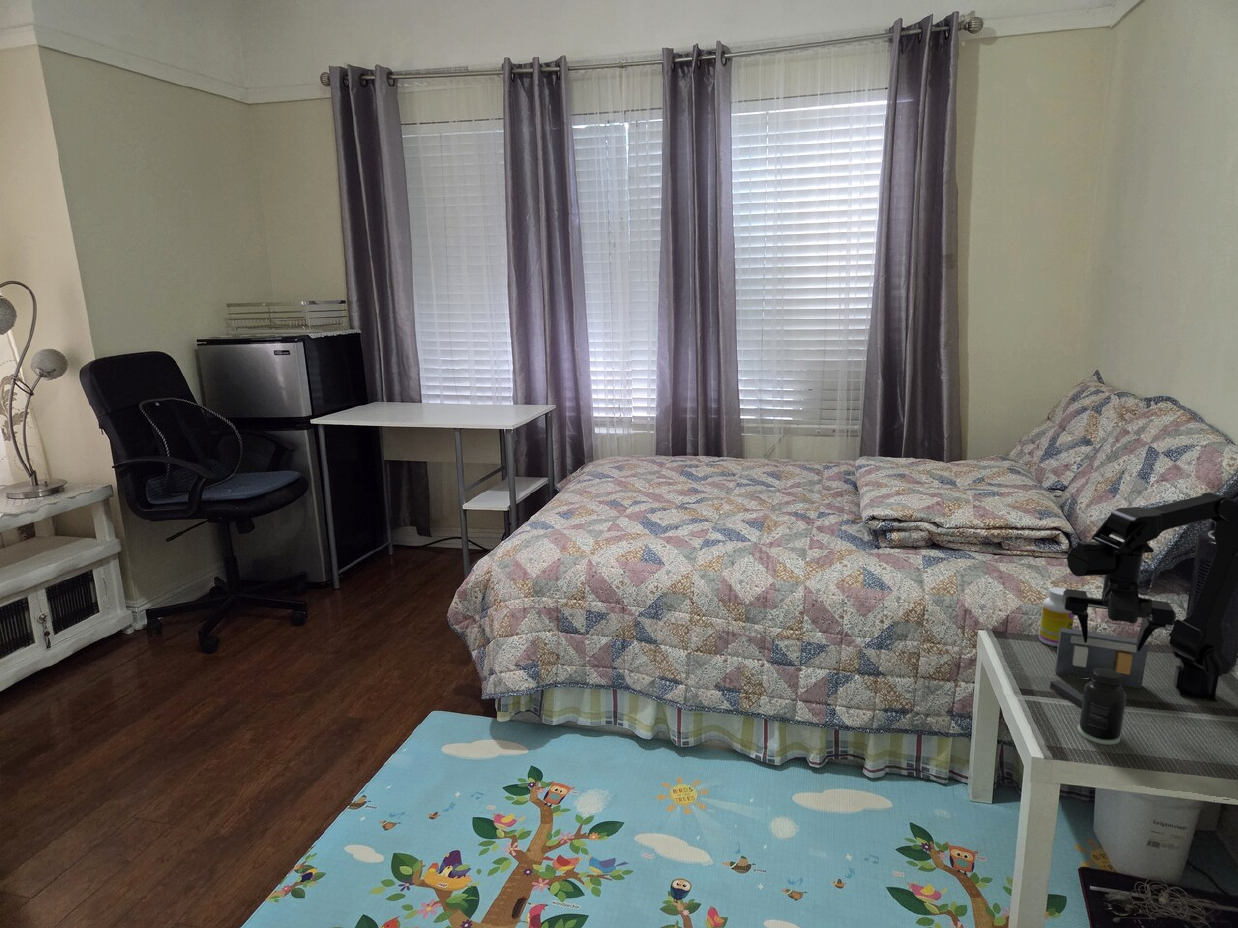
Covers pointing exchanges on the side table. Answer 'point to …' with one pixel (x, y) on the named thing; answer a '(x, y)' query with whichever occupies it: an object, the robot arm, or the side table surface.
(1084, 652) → the paddle
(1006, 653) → the side table surface
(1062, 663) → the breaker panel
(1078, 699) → the dark grey slat
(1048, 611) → the supplement bottle
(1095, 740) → the pad
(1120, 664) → the paddle main
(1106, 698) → the supplement bottle
